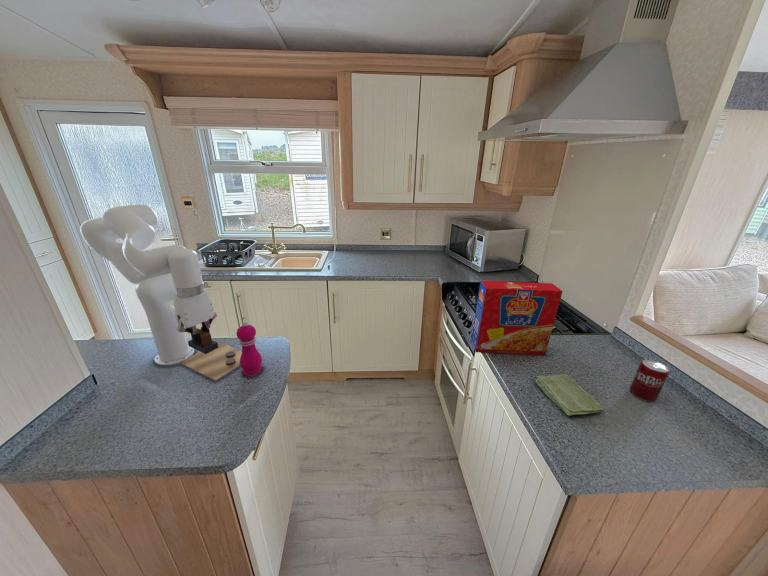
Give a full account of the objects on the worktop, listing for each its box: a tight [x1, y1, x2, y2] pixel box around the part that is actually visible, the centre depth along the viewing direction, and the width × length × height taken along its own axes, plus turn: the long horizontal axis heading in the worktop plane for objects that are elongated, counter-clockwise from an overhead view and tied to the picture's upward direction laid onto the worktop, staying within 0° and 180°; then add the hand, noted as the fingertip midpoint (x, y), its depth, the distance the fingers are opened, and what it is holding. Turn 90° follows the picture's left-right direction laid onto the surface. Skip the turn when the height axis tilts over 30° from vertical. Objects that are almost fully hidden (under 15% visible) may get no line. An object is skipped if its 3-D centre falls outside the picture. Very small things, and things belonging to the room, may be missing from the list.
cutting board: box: [179, 341, 242, 381], centre depth 113 cm, size 20×16×1 cm
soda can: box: [629, 359, 671, 403], centre depth 100 cm, size 7×7×12 cm
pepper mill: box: [236, 321, 263, 376], centre depth 104 cm, size 7×7×20 cm
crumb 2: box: [226, 358, 236, 365], centre depth 111 cm, size 3×3×1 cm
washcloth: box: [534, 373, 604, 417], centre depth 100 cm, size 13×18×3 cm
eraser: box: [187, 327, 218, 354], centre depth 101 cm, size 9×4×6 cm, turn 62°
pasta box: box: [470, 280, 563, 356], centre depth 121 cm, size 28×8×28 cm, turn 88°
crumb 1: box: [226, 351, 235, 358], centre depth 115 cm, size 3×3×1 cm
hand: (202, 340), depth 101 cm, fingers closed on eraser, 2 cm apart
